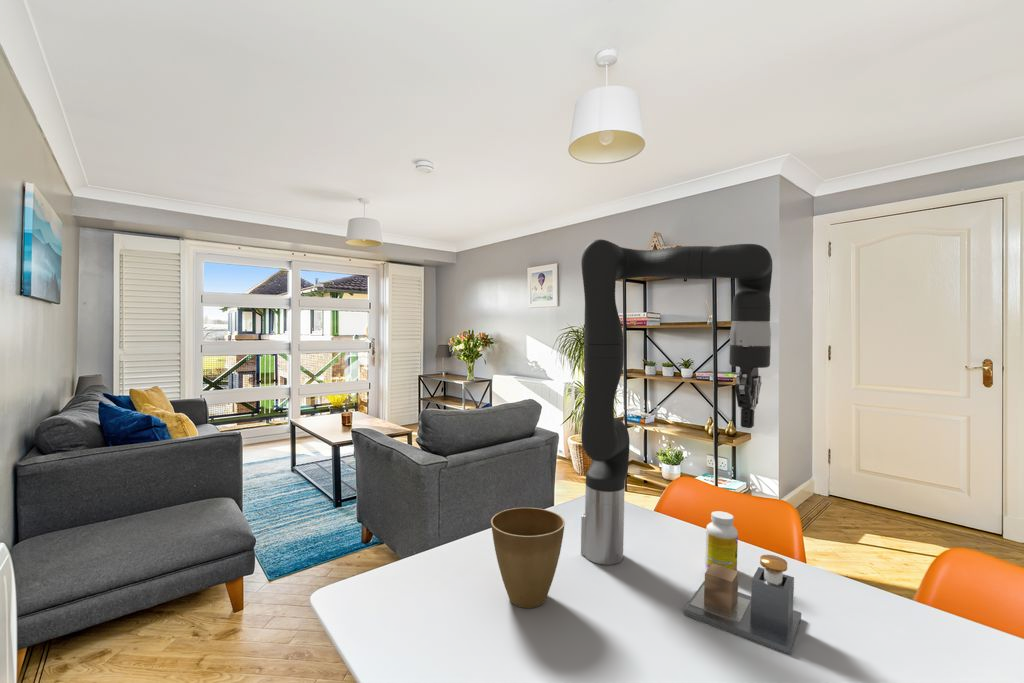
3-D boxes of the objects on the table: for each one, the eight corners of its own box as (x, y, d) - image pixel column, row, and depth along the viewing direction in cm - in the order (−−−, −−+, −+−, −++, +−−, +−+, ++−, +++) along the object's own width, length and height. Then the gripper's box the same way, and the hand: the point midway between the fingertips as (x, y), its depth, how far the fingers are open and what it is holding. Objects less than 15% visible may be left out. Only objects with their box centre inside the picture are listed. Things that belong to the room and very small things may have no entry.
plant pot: (572, 588, 101) (574, 513, 101) (547, 628, 88) (549, 542, 87) (509, 572, 108) (510, 501, 107) (476, 607, 94) (477, 526, 94)
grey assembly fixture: (683, 614, 93) (685, 567, 92) (703, 586, 103) (705, 544, 103) (790, 655, 82) (792, 602, 81) (801, 618, 92) (802, 571, 92)
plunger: (756, 619, 89) (758, 561, 88) (760, 608, 92) (762, 552, 92) (783, 629, 86) (785, 568, 86) (787, 617, 90) (789, 559, 89)
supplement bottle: (740, 579, 106) (742, 522, 105) (708, 576, 107) (710, 519, 107) (732, 564, 112) (734, 510, 112) (702, 561, 114) (704, 508, 113)
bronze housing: (704, 603, 94) (704, 573, 94) (711, 592, 98) (712, 563, 98) (731, 612, 91) (732, 581, 91) (737, 601, 95) (738, 571, 95)
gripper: (738, 342, 106) (735, 420, 107) (722, 343, 96) (719, 429, 96) (776, 343, 102) (773, 424, 102) (763, 345, 91) (760, 435, 92)
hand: (747, 427), depth 99 cm, fingers closed
